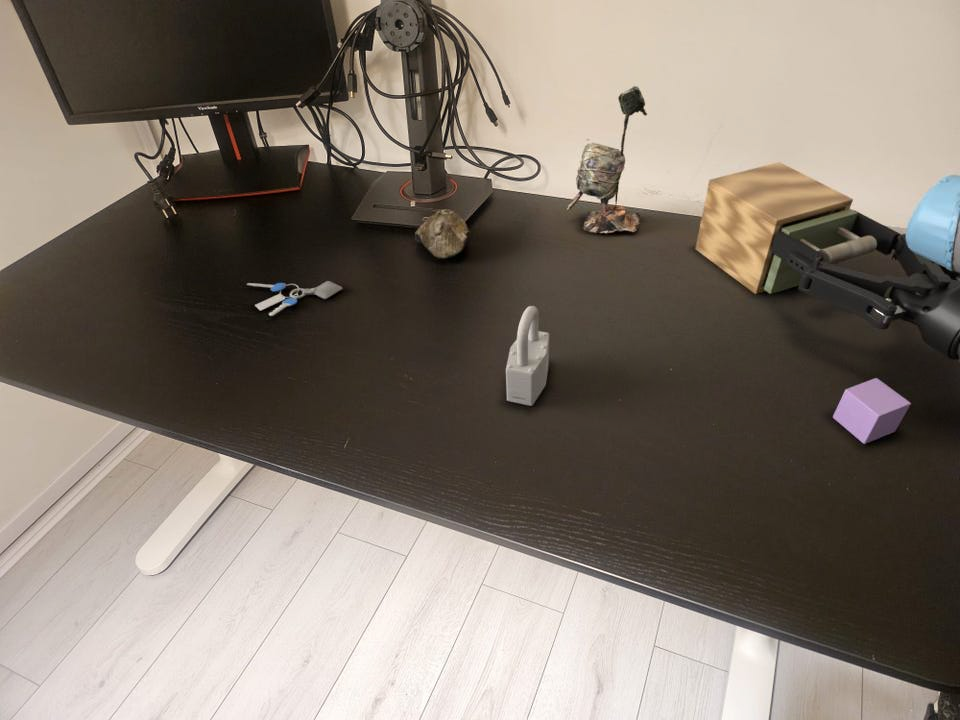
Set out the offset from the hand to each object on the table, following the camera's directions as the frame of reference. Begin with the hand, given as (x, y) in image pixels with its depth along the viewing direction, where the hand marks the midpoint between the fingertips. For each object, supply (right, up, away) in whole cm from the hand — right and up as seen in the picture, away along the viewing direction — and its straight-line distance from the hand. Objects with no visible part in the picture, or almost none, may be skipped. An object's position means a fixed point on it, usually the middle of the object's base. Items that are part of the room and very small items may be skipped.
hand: (812, 230), depth 75 cm
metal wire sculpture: (-21, +5, +20) cm, 30 cm away
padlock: (-35, -19, -6) cm, 40 cm away
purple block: (-2, -22, -13) cm, 26 cm away
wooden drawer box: (-2, -2, +10) cm, 11 cm away
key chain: (-67, -8, +9) cm, 68 cm away
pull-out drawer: (0, -4, +6) cm, 7 cm away
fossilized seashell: (-46, +1, +18) cm, 49 cm away
